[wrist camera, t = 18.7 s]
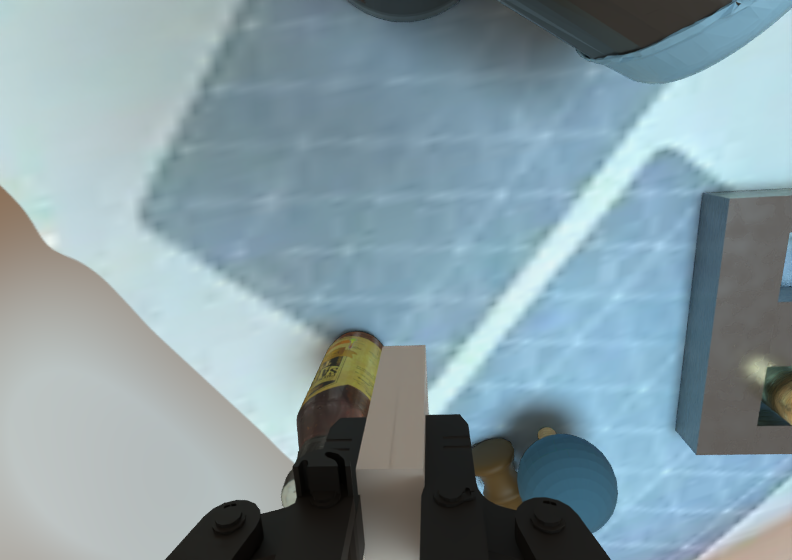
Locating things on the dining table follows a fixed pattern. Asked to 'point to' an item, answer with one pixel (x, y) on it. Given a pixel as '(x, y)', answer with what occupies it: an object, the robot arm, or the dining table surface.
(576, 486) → the light bulb
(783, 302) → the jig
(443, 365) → the dining table surface
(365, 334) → the sauce bottle
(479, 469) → the kendama
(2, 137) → the dining table surface
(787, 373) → the bushing
